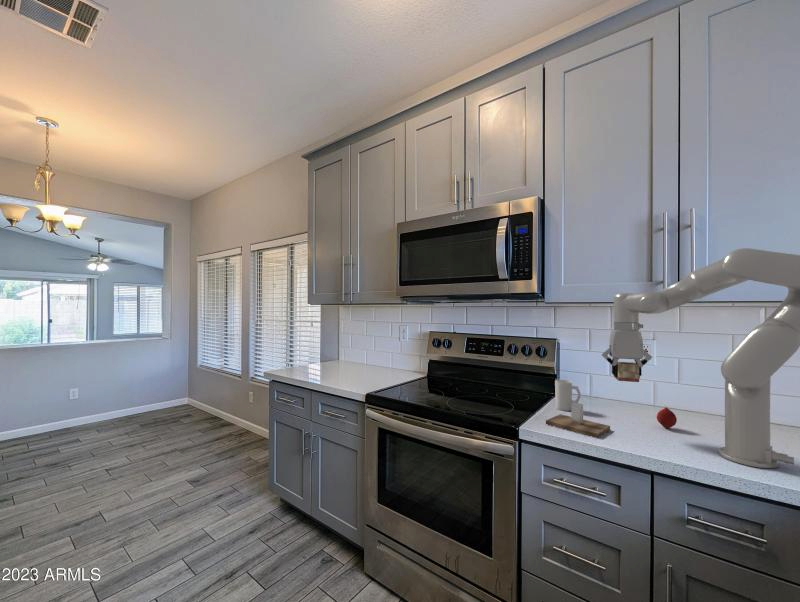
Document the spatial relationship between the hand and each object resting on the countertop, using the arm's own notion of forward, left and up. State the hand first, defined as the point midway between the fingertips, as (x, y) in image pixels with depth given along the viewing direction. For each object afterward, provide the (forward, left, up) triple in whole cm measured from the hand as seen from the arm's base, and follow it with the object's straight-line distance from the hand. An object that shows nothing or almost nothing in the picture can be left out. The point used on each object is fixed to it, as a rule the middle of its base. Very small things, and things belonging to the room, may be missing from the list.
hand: (626, 376), depth 127 cm
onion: (-9, -14, -20) cm, 26 cm away
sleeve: (0, 0, -1) cm, 1 cm away
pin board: (+13, +10, -19) cm, 25 cm away
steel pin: (+13, +10, -18) cm, 24 cm away
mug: (+25, -10, -20) cm, 33 cm away
